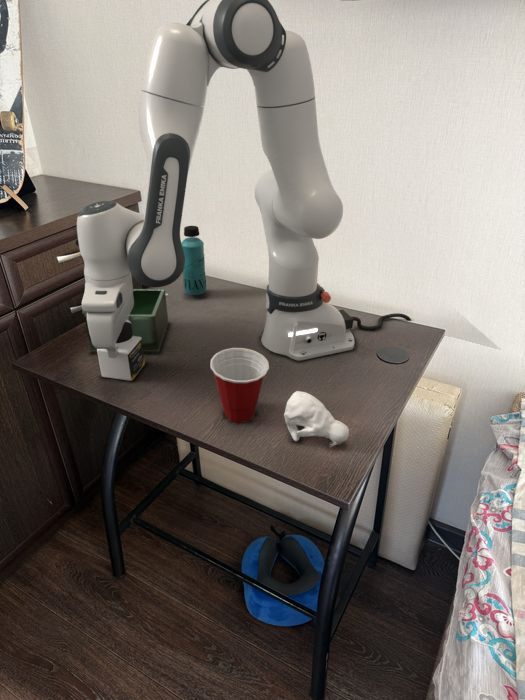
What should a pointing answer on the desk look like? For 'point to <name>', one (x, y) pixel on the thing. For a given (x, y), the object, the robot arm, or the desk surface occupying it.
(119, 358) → the medicine bottle
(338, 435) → the white figurine
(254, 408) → the plastic cup
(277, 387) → the desk surface
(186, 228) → the beverage bottle
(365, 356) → the desk surface
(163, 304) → the green open box
